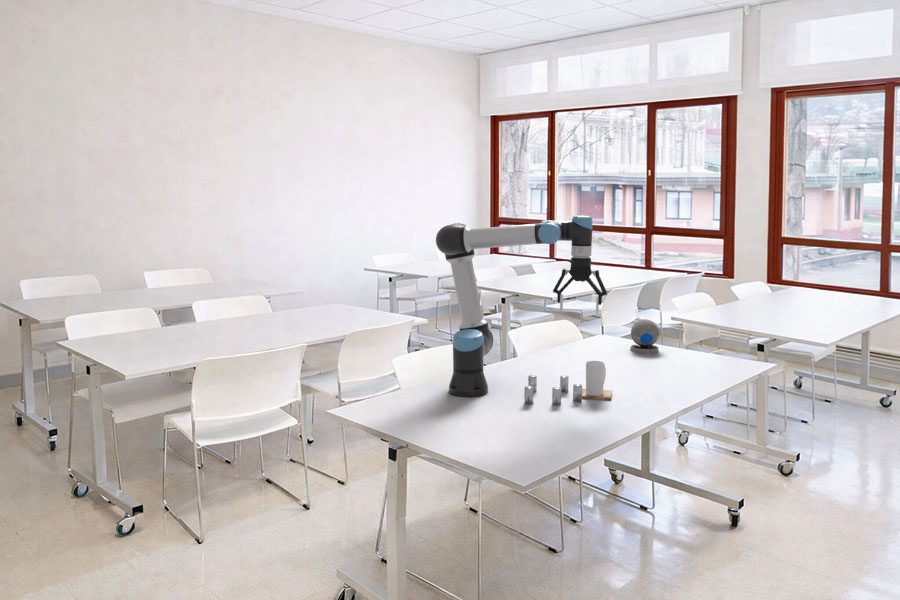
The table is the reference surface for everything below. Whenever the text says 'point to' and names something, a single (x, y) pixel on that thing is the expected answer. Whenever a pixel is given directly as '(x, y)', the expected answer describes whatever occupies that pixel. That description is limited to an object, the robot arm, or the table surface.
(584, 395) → the trivet
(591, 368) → the mug
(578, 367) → the table surface
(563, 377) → the cylinder
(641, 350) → the webcam
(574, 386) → the cylinder
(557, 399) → the cylinder
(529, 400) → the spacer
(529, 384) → the cylinder
